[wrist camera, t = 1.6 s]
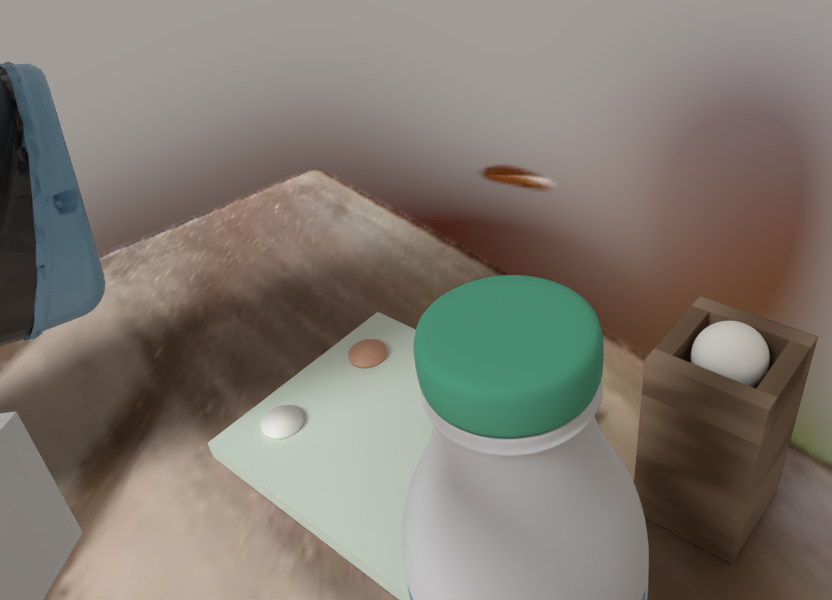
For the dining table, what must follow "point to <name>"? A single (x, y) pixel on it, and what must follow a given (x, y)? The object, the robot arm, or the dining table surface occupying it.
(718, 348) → the cream ball
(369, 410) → the card
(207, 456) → the dining table surface
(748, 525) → the walnut tube
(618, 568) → the milk bottle
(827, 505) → the dining table surface
